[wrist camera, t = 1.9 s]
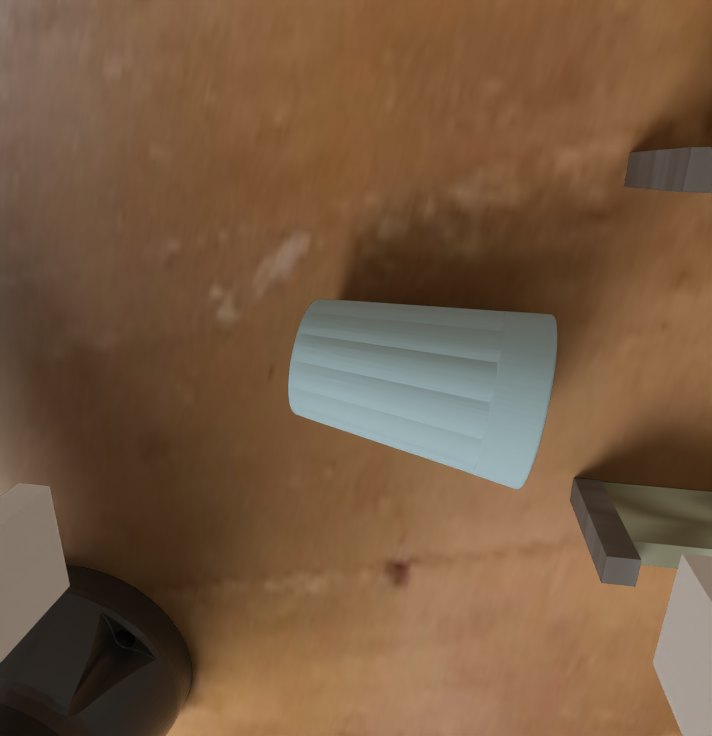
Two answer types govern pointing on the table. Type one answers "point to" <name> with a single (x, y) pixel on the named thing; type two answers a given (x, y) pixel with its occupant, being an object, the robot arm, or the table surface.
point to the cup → (429, 380)
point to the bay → (635, 502)
